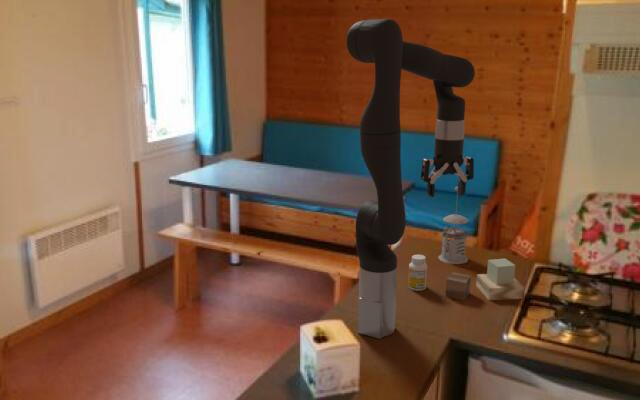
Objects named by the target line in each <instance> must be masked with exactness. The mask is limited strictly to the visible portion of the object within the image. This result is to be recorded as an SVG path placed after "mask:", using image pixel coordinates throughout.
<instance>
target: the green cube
mask: <svg viewBox="0 0 640 400" xmlns="http://www.w3.org/2000/svg"><path fill="white" fill-rule="evenodd" d="M515 273H516V264H514V263H513V262H512V261H510V260H508V259H507V258H498V259H497V258H496V259H495V258H494V259H487V270H486V274H487V278H488V279H489V280H491V281H492V282H493V283H494V284H496V285H501V284H510V283H514V278H515Z"/></svg>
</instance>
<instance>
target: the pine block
mask: <svg viewBox="0 0 640 400" xmlns="http://www.w3.org/2000/svg"><path fill="white" fill-rule="evenodd" d="M475 283H476V284H475V286H476V287H477V289H478V290H479V291H480V292H481V293H482V294H483V295H484V297H485V298H486V299H487V300H488V301H502V300H520V299H521V297H522V296H523V297H524V289H525V286H523V285H522V284H521V282H520V281H518V280H517V278H516V277H514V283H510V284H501V285H496V284H494V283H493V282H492V281H491V280H489V279H488V278H487V273H480V274H476V282H475Z"/></svg>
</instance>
